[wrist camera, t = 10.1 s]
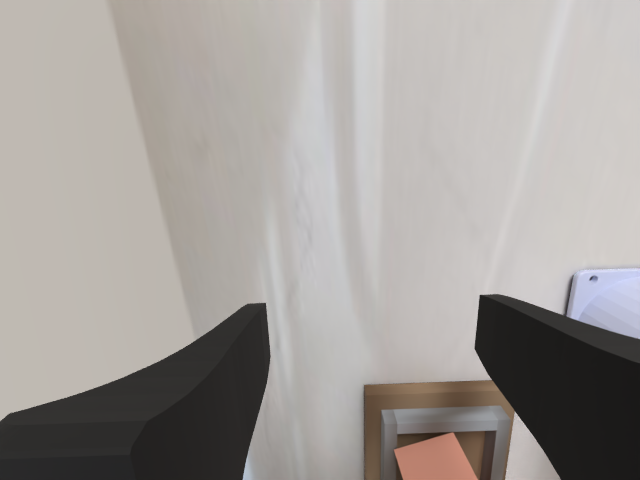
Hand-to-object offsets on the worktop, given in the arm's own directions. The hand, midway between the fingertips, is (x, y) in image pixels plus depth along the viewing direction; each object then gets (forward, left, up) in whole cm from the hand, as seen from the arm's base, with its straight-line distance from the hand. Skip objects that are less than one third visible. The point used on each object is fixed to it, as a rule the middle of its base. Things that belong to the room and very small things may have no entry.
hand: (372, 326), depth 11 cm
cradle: (-6, +18, -9) cm, 21 cm away
